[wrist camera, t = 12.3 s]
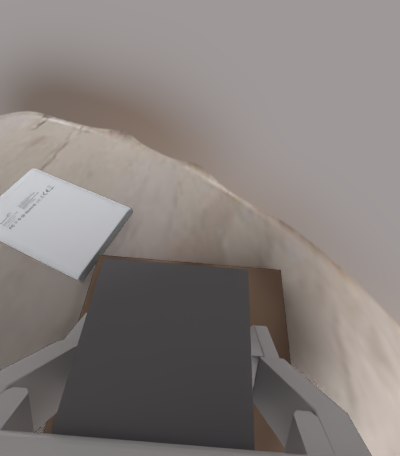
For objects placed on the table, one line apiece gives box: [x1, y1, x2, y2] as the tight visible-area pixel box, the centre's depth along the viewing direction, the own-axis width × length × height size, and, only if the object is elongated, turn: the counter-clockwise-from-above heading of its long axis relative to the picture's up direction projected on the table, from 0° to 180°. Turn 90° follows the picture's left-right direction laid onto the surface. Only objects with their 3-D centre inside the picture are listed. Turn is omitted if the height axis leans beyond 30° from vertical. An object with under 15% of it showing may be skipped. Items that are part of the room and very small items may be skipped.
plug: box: [51, 258, 255, 450], centre depth 9 cm, size 4×4×9 cm
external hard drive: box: [0, 168, 133, 282], centre depth 23 cm, size 2×8×12 cm
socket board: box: [44, 255, 291, 453], centre depth 16 cm, size 16×14×4 cm
